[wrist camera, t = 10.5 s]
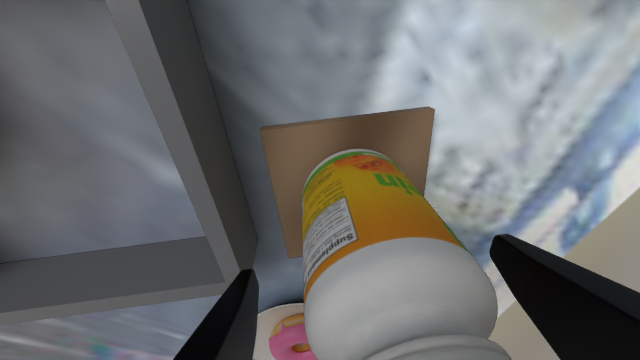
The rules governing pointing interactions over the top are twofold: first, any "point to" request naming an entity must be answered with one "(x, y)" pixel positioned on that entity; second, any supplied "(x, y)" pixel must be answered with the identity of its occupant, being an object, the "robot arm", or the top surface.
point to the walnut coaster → (335, 136)
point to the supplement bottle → (388, 270)
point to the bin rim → (196, 173)
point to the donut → (282, 334)
